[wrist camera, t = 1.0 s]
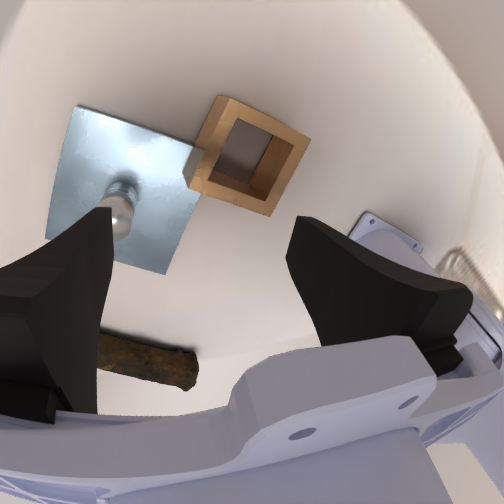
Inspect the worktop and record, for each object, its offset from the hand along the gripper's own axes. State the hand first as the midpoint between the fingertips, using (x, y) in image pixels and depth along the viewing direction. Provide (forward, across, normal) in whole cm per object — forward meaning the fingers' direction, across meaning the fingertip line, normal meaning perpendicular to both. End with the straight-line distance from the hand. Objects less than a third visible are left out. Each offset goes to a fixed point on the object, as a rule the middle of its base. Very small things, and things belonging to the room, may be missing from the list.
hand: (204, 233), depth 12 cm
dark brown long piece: (+10, +8, +18) cm, 22 cm away
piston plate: (+10, +5, +3) cm, 11 cm away
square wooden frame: (+9, -3, -1) cm, 10 cm away
